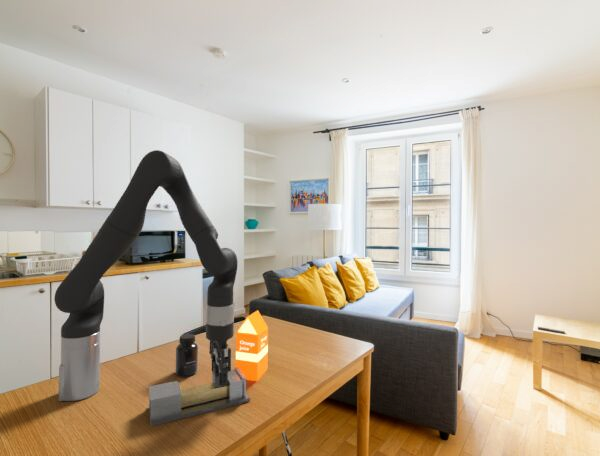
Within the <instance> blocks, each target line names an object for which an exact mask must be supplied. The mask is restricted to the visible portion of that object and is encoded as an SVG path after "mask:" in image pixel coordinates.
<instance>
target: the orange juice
mask: <svg viewBox="0 0 600 456" xmlns="http://www.w3.org/2000/svg"><path fill="white" fill-rule="evenodd" d="M235 333H236V334H235V367H238V368H239V369H240V370H241V372H242V373H243V374H244V376H245V377H246V381H250V382H251V381H253V382H258V381H259V380H260V379H261V378H262V376H264V374H265V373H266V371H268V365H269V364H268V363H269V362H268V358H269V357H268V355H269V354H268V352H269V326H268V325H267V323H266V322H265V320H264V318H263V317H262V314H261V313H260V311H259V310H256V311H254V312H252V313H251V314H250V315H248V316H247V317H246V318H245V319H244V321H243V322H242V324H241V325H240V327H239V328H238V329H237V331H236V332H235Z"/></svg>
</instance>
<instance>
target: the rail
mask: <svg viewBox="0 0 600 456" xmlns="http://www.w3.org/2000/svg"><path fill="white" fill-rule="evenodd" d="M228 384H229V388H228V397H224V398H220V399H216V400H212V401H208V402H204V403H199V404H195V405H191V406H187V407H183V408H181V388H180V384H179V382H178V380H174V381H170V382H165V383H159V384H155V385H150V386H149V389H148V390H149V391H148V394H149V395H148V397H149V398H148V412H149V421H150V427H155V426H158V425H162V424H167V423H169V422H175V421H178V420H182V419H186V418H189V417H190V418H191V417H194V416H198V415H200V414H201V415H202V414H206V413H209V412H214V411H218V410H222V409H225V408H229V407H233V406H237V405H241V404H245V403H249V402H250V401H251V397H250V396H249V394H248V392H247V380H246V377H245V376H244V374H243V373H242V372H241V370H240V369H239V368H238V367H236V366H235V367H234V369H231V371H229V372H228Z"/></svg>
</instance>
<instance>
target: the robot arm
mask: <svg viewBox="0 0 600 456" xmlns="http://www.w3.org/2000/svg"><path fill="white" fill-rule="evenodd" d="M159 187H161V188H162V189H163V190H164V191H165V192H166V193H167V195H169V196H170V198H171V199H172V201H173V203H174V204H175V207H176V209H177V212H178V215H179V219H180V222H181V224H182V226H183V228H184V229H185V231H186V232H187V234H188V236H189V238H190V239H191V241H192V242H193V243H194V246H195V248H196V252H197V255H198V258H199V261H200V264H201V265H202V267H203V269H204V270H205V271H206V272H207V273H209V274H210V275H212V276H213V280H212V281H211V283H210V284H209V285H208V287H207V293H206V294H207V295H206V296H207V299H206V300H207V302H206V303H207V304H206V305H207V306H206V311H205V338H206V339H207V340H208V341H209V352H208V353H209V355H210V359H211V372H212V371H213V362H216V364H218V368H219V385H220V386H224V385H227V383H228V372H229V371H231V370H232V367H231V366H232V362H231V361H232V350H231V347H229V344H228V343H227V342H228V340H230V339H231V338H233V337H234V333H235V331H234V330H235V327H234V326H235V309H234V285H235V282H236V276H237V273H238V272H237V271H238V262H239V261H238V257H237V254H236V253H235V251H234V250H232V248H229V247H220V245H219V242H218V239H219V233H218V231H217V228H216V227H215V225H213V223H212V221H211V220H210V217H208V215H207V214H206V212H205V210H204V209H203V207H202V206H201V204H200V203H199V201H198V199H197V198H196V196H195V195H196V194H194V192H193V190H192V187H191V186H190V182H189V181H188V179H187V176H186V174H185V171H184V169H183V167H182V165H181V163H180V162H179V161H178V160H177V159H176V158H174V157H173V156H170V154H168V153H166V152H164V151H162V150H158V149H157V150H152V151H149V152H147V153H146V154H145V155H144V156H143V157H142V159H140V162H139V163H138V166H137V168H136V169H135V171H134V173H133V175H132V177H131V178H130V181H129V183H128V185H127V187H126V188H125V190H124V192H123V194H122V195H121V197H120V198H119V200H118V201H117V203H115V206H114V207H113V209H112V210H111V212H110V214H109V215H108V216H107V217H106V219H105V221H104V222H103V224H102V225H101V227H100V228H99V229H98V231H97V233H96V235H95V237H93V239H92V241H91V242H90V244H89V245H88V247H87V249H86V250H85V252H84V253H83V254H82V256H81V258H80V259H79V260H78V262H77V263H76V264H75V266H74V267H73V268H72V270H71V271H70V272H69V273H68V274H67V275H66V277H65V278H64V279H63V280H62V282H60V284H59V286H58V287H57V289H56V291H55V293H54V304H55V307H56V308H57V309H58V310H59V311H61V312H62V313H64V314H65V313H66V314H69V315H68V318H67V319H66V320H65V322H64V323H63V324H62V326H61V328H60V364H59V366H58V402H63V401H65V402H75V401H80V400H86V399H88V398H90V397H91V396H94V395H95V394H96V393H99V390H100V385H101V384H100V377H101V376H100V375H101V374H100V373H101V371H100V368H101V366H100V365H101V364H100V363H101V362H100V361H101V355H100V354H101V347H100V346H101V324H102V321H103V319H104V308H105V307H104V306H105V288H104V284H103V283H102V281H101V279H102V277H103V276H104V275H105V274H106V272H107V271H108V270H109V269H110V268H111V267H112V266H113V265H114V264H116V263H117V262H118V261H119V260H120V259H121V258H122V257H123V256H124V255H125V254H126V253H128V251H129V249H130V248H131V247H132V246H133V245H134V243H135V242H136V240H137V238H138V237H139V235H140V234H141V232H142V230H143V227H144V224H145V218H146V214H147V207H148V204H149V203H150V201H151V199H152V198H153V196H154V194H155V193H156V191H157V190H158V189H159ZM224 363H225V365H226V366H225V367H223V364H224Z"/></svg>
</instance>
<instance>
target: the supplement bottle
mask: <svg viewBox="0 0 600 456" xmlns="http://www.w3.org/2000/svg"><path fill="white" fill-rule="evenodd" d="M178 342H179V344H177V346H176V347H175V366H174V368H175V375H176V376H178V377H182V378H183V377H184V378H185V377H191V376H193V375H195V374H197V372H198V359H199V358H198V357H199V356H198V354H199V351H198V350H199V347H198V344H197V343H196V336H195V334H191V333H185V334H181V335H180V336H179V341H178Z"/></svg>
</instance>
